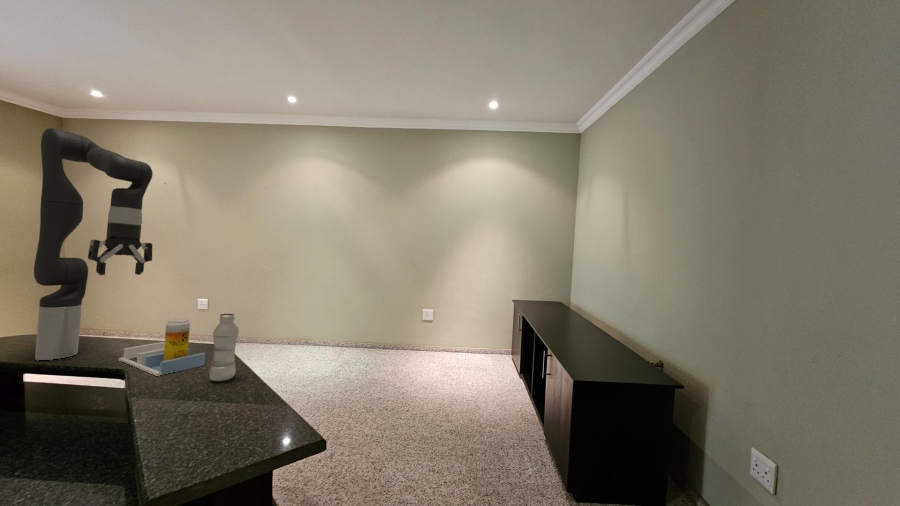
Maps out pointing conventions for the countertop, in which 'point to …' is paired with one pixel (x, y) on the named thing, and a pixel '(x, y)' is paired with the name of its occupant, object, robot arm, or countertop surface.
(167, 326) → the beer can
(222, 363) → the plastic bottle
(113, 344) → the countertop surface
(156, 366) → the rack
